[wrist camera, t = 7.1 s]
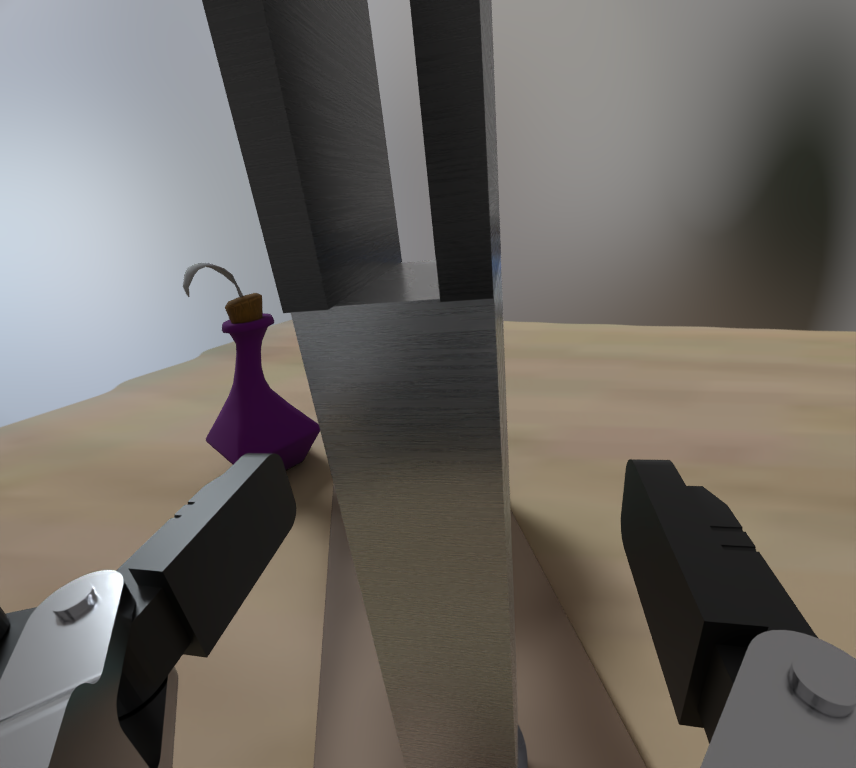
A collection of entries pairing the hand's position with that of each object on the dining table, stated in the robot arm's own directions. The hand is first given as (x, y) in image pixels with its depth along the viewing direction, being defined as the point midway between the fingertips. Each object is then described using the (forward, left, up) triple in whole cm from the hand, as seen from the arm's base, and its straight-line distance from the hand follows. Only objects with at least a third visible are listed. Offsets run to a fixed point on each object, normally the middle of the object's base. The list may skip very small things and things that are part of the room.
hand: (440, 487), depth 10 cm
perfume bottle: (-12, +26, -14) cm, 32 cm away
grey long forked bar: (0, 0, -13) cm, 13 cm away
